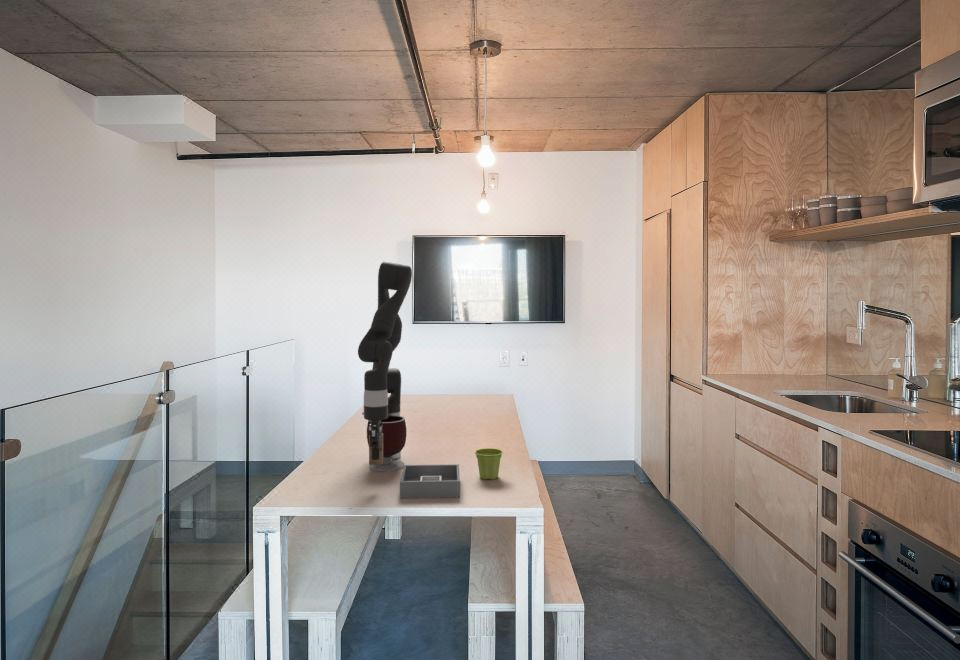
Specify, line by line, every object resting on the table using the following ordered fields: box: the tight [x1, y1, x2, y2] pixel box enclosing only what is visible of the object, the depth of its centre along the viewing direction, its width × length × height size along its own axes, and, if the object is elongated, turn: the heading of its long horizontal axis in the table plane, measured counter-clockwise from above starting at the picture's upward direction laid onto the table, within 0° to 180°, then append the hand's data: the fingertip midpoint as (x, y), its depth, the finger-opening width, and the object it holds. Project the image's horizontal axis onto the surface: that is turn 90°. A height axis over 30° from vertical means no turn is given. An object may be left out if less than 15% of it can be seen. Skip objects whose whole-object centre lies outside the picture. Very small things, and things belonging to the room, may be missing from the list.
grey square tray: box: [399, 463, 461, 499], centre depth 195 cm, size 18×18×5 cm
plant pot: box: [474, 447, 504, 480], centre depth 207 cm, size 9×9×9 cm
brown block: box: [368, 433, 383, 465], centre depth 194 cm, size 4×4×9 cm
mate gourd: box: [362, 411, 407, 472], centre depth 218 cm, size 16×14×20 cm
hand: (376, 457), depth 195 cm, fingers closed on brown block, 4 cm apart
